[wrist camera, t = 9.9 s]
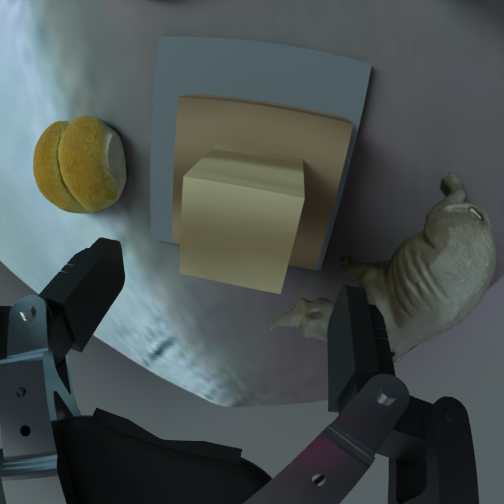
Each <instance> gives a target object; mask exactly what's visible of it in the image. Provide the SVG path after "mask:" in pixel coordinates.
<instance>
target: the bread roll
mask: <svg viewBox="0 0 504 504" xmlns="http://www.w3.org/2000/svg"><path fill="white" fill-rule="evenodd" d="M33 171H34V177H35V180H36V183H37V186H38V188H39V190H40V191H41V193H42V194H43V195H44V196H45V198H47V199H48V200H49V201H50V202H51V203H53V204H54V205H55V206H57V207H58V208H60V209H62V210H64V211H67V212H72V213H90V212H100V211H102V210H104V209H106V208H108V207H110V206H111V205H113V204H114V203H115V202H116V201H117V200H118V199H119V198H120V196H121V194H122V192H123V189H124V186H125V183H126V180H127V176H126V159H125V154H124V149H123V145H122V142H121V139H120V137H119V135H118V134H117V133H116V132H115V131H114V130H113V129H111V128H110V127H109V126H107V125H106V124H105V123H104V122H102V121H101V120H99V119H97V118H93V117H88V116H82V117H78V118H76V119H75V120H73V121H58V122H55V123H53V124H52V125H50V126H49V127H48V128H47V129H46V130H45V131H44V132H43V134H42V135H41V137H40V139H39V140H38V143H37V145H36V147H35V152H34V159H33Z"/></svg>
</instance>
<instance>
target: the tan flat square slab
mask: <svg viewBox="0 0 504 504" xmlns="http://www.w3.org/2000/svg"><path fill="white" fill-rule="evenodd" d="M352 128H353V123H352V122H350V121H349V120H348V119H347V118H346V117H343V116H339V115H335V114H330V113H326V112H321V111H317V110H312V109H307V108H302V107H297V106H291V105H286V104H280V103H274V102H267V101H261V100H254V99H247V98H239V97H231V96H221V95H211V94H200V93H192V94H188V95H184V96H180V97H178V108H177V121H176V135H175V153H174V175H173V211H172V243H173V244H179V245H180V234H181V210H182V191H183V176H184V175H185V174H186V173H187V172H188V171H189V170H190V169H191V168H192V167H193V166H194V165H195V164H197V163H198V162H199V161H200V160H201V159H202V158H203V157H204V156H205V155H206V154H207V153H208V152H209V151H210V150H211V149H212V148H213V147H214V146H215V145H216V144H223V145H229V146H235V147H241V148H247V149H253V150H259V151H264V152H270V153H275V154H280V155H285V156H290V157H295V158H300V159H303V172H304V195H305V199H304V203H303V208H302V212H301V216H300V220H299V224H298V228H297V232H296V236H295V240H294V244H293V248H292V252H291V256H290V260H289V263H288V265H289V266H295V267H300V268H306V269H311V270H315V269H316V266H317V262H318V259H319V255H320V252H321V249H322V245H323V242H324V238H325V235H326V231H327V227H328V224H329V220H330V217H331V213H332V209H333V205H334V202H335V198H336V194H337V190H338V186H339V182H340V179H341V175H342V171H343V166H344V162H345V158H346V154H347V150H348V146H349V141H350V137H351V133H352Z"/></svg>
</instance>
